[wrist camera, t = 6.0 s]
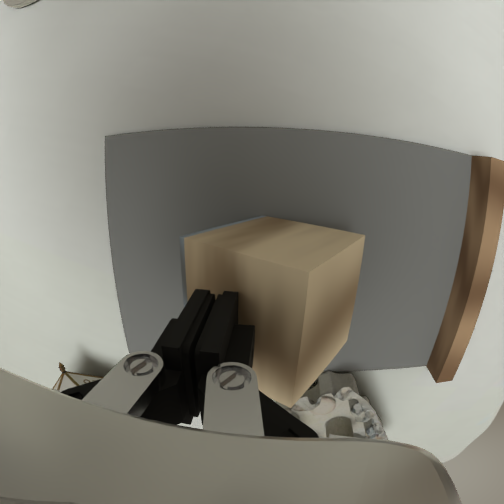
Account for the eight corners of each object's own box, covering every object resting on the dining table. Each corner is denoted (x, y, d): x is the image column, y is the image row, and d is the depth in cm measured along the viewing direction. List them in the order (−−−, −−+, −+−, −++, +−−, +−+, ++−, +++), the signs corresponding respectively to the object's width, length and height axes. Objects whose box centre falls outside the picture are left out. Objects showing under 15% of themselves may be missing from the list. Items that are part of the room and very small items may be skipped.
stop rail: (469, 155, 15) (491, 157, 12) (485, 159, 15) (507, 162, 12) (424, 363, 20) (436, 382, 17) (440, 361, 20) (452, 380, 17)
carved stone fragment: (261, 391, 21) (257, 432, 17) (353, 355, 19) (365, 396, 16) (313, 452, 24) (315, 485, 20) (386, 426, 22) (396, 460, 18)
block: (179, 236, 12) (309, 272, 9) (262, 215, 17) (365, 235, 13) (188, 352, 14) (290, 408, 11) (259, 309, 19) (346, 341, 15)
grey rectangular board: (107, 136, 16) (105, 136, 16) (469, 155, 15) (471, 155, 14) (130, 351, 21) (129, 353, 21) (424, 363, 20) (426, 365, 19)
